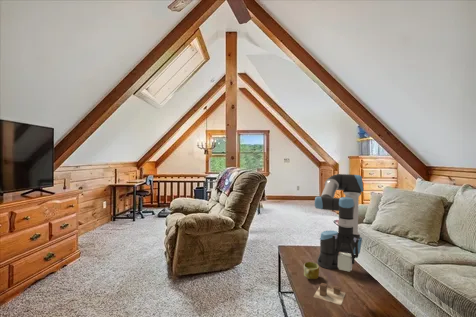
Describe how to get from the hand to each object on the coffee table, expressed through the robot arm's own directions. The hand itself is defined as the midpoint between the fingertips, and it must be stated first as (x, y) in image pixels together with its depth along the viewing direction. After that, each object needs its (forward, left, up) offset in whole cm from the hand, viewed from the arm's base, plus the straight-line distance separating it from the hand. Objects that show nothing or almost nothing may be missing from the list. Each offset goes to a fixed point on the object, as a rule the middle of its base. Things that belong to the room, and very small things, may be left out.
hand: (344, 267), depth 142 cm
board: (+6, -6, -15) cm, 18 cm away
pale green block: (0, 0, 0) cm, 0 cm away
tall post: (+8, -9, -14) cm, 19 cm away
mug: (-9, -21, -15) cm, 28 cm away
